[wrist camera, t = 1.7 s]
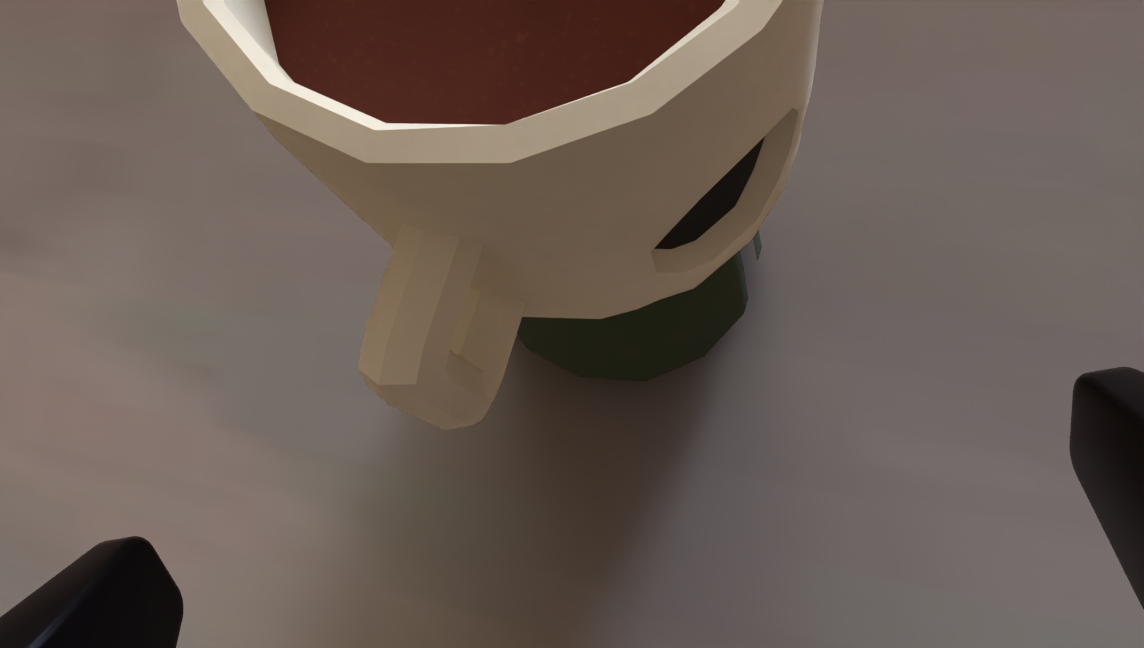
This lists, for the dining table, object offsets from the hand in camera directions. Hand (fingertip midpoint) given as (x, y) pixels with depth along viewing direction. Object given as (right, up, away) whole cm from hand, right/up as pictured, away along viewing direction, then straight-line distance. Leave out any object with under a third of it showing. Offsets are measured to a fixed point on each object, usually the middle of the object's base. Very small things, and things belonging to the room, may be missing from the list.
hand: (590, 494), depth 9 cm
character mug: (+1, +3, +13) cm, 13 cm away
